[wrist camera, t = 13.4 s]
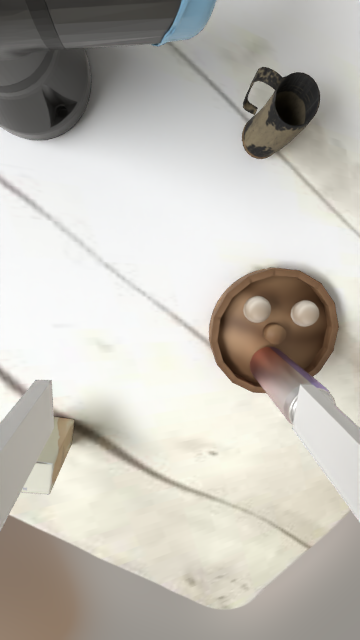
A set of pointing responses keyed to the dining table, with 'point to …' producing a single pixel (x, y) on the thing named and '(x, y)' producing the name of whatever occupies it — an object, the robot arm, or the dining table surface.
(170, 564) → the dining table surface
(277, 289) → the tray
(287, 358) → the beverage can
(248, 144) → the mug
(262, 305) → the bead
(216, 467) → the dining table surface
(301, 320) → the bead
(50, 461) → the box
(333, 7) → the dining table surface
